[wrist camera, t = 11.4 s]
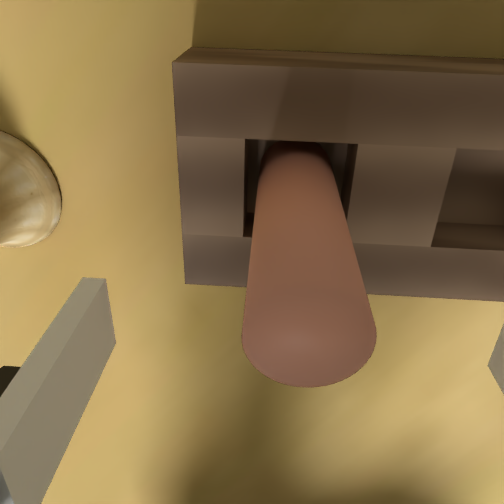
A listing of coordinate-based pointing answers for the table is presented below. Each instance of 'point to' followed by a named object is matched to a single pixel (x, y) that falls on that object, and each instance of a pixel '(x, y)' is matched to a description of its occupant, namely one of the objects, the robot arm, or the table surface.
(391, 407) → the table surface
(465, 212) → the socket block
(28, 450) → the robot arm
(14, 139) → the hand bell
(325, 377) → the pin
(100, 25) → the table surface
